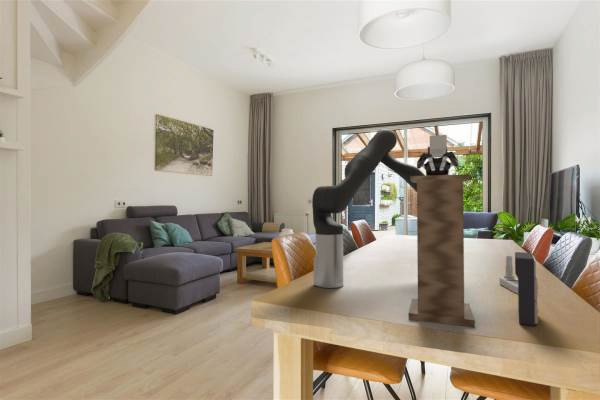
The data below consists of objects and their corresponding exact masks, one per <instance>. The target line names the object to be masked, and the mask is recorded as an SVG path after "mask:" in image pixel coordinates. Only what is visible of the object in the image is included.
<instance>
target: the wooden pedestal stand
mask: <svg viewBox="0 0 600 400" xmlns="http://www.w3.org/2000/svg"><path fill="white" fill-rule="evenodd" d="M470 179H471V174H470V173H468V174H465V173H464V174H449V175H429V176H426V175H425V176H410V180H411V181H412V182H413V183H417V192H416V214H417V215H416V218H417V219H416V220H417V221H416V222H417V223H416V229H417V230H416V232H417V233H416V234H417V237H416V239H417V241H416V243H417V249H416V250H417V252H416V253H417V298H411V301H410V306H409V308H408V309H409V310H408V320H409V321H410V320H412V321H419V322H420V321H421V322H427V323H437V324H447V325H455V326H464V327H470V328H471V327H473V328H475V327H476V320H475V316H474V314H473V312H472V308H471V306H470V303H465V253H464V250H465V247H464V246H465V244H464V243H465V240H464V239H465V236H464V234H465V233H464V232H465V231H464V225H465V224H464V182H467V181H469V180H470Z"/></svg>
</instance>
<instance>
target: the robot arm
mask: <svg viewBox="0 0 600 400" xmlns="http://www.w3.org/2000/svg"><path fill="white" fill-rule="evenodd" d="M397 139H398V138H397V136H396V134H395V132H394V131H392V130H391V129H389V128H383V129H380V130H378V131H377V132H376V133H375V134H374V136H373V137H372V138H371V139H370V140H369V142H368V143H367V145H365V147H363V148H362V149H361V150H360V151H358V153H357V154H355V155H354V156H353V158H351V159H350V160H349V161H348V163H347V164H346V165H345V168H344V178H343V180H342V181H341V182H340V183H338V184H335V185H322V186H317V188H315V189H314V191H313V194H312V200H311V202H312V203H311V204H312V205H311V206H312V223H313V226H314V231H315V256H314V257H313V286H314V285H315V286H314V287H316V286H317V287H319V288H324V289H325V288H326V289H336V288H342V287H343V286H344V227H343V225H342V224H341V223H338V222H337V221H335V220H334V219H333V217H332V216H333V215H332V214H340V213H343V212H344V211H345V210H346V209H347V207H348V206H349V204H350V203H351V202H352V200H353V198H354V197H355V195H356V193H357V192H358V191H359V190H360V189H361V187H362V186H363V184H364V183H366V181H367V180H368V179H369V178H370V177H371V176H372V174H373V173H374V171H375V170H376V169H377V167H378V166H379V164H380V163H382V164H383V165H384V166H386V167H387V168H388V169H390V170H391V171H393V172H394V173H395V174H397V175H398V176H400V178H402V179H403V180H404V181H405V182H406V183H407V185H409V186H410V188H412V189H413V190H414V191H415V192H416V193H417V183H413V182H412V181H411V180H410V176H429V175H450V173H449V172H450V169H451V167H454V168H458V167H459V159H458V158H457V156H456V154H455V153H454V151H448V148H447V149H446V153H445V154H443V157H432V154H430V146H427V153H426V152H423V153H421V155H420V157H419V158H418V160H417V161H416V166H414V165H412V164H409V163H406V162H403V161H401V160H398V159H396V158H394V157H393V155H391V153H390V152H391V151H392V150H393V149H394V148H395V147H396V145H397V142H398V140H397ZM447 159H449V161H448V160H447ZM427 160H428V161H427ZM425 162H426V163H425ZM421 168H423V169H424V170H425V174H424V173H423V171H421Z"/></svg>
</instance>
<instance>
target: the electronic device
mask: <svg viewBox="0 0 600 400" xmlns="http://www.w3.org/2000/svg"><path fill="white" fill-rule="evenodd" d="M513 269H514V267H513V256H511V255H506V256H505V274H503V275H502V276H500V277H499V285H501V286H503V288H506V289H508V290H509V291H511V292H513V293H515V294H517V295H518V277H515V275H513V271H514V270H513Z"/></svg>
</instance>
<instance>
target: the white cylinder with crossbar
mask: <svg viewBox="0 0 600 400" xmlns="http://www.w3.org/2000/svg"><path fill="white" fill-rule="evenodd" d="M447 141H448V139H447V134H441V135H440V134H439V135H438V134H436V135H429V147H430V154H432V157H434V158H441V157H443V154H445V153H446V149H447V150H448V146H447V145H448V144H447Z"/></svg>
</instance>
